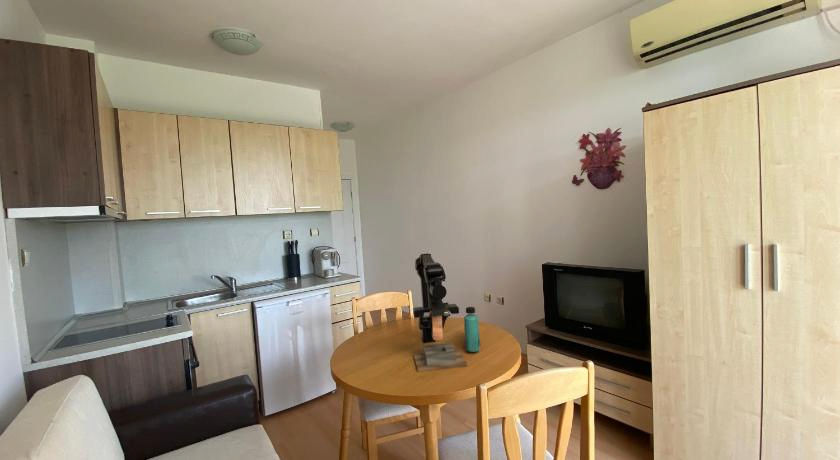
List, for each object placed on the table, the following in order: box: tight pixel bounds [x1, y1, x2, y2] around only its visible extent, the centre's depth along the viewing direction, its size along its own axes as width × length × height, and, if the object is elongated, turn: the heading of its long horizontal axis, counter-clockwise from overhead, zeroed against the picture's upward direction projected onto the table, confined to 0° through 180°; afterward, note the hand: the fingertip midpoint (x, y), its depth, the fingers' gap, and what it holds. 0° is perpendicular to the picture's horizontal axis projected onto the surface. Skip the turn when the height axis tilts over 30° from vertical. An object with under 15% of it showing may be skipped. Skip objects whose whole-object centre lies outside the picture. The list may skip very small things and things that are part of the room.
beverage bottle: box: [463, 306, 481, 353], centre depth 154 cm, size 6×7×20 cm
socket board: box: [413, 342, 468, 373], centre depth 148 cm, size 16×20×5 cm
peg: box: [431, 313, 444, 341], centre depth 147 cm, size 4×4×10 cm
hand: (437, 330), depth 147 cm, fingers closed on peg, 4 cm apart
